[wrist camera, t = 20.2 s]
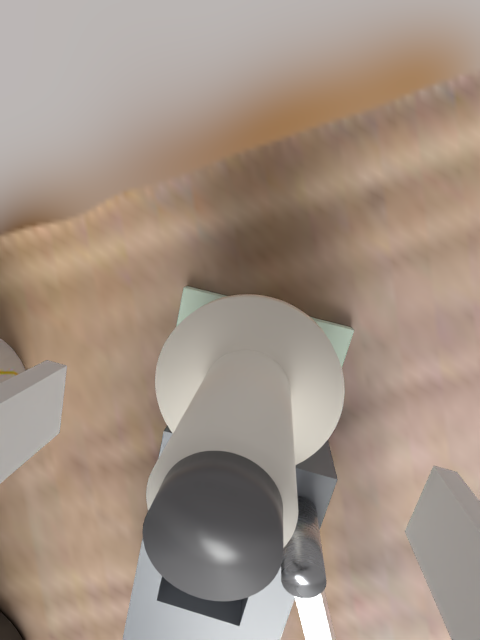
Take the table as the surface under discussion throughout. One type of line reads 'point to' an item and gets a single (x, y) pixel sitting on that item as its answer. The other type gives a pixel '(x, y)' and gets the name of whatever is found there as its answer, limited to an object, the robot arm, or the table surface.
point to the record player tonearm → (307, 574)
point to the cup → (9, 362)
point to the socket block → (222, 616)
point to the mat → (333, 331)
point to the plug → (236, 441)
